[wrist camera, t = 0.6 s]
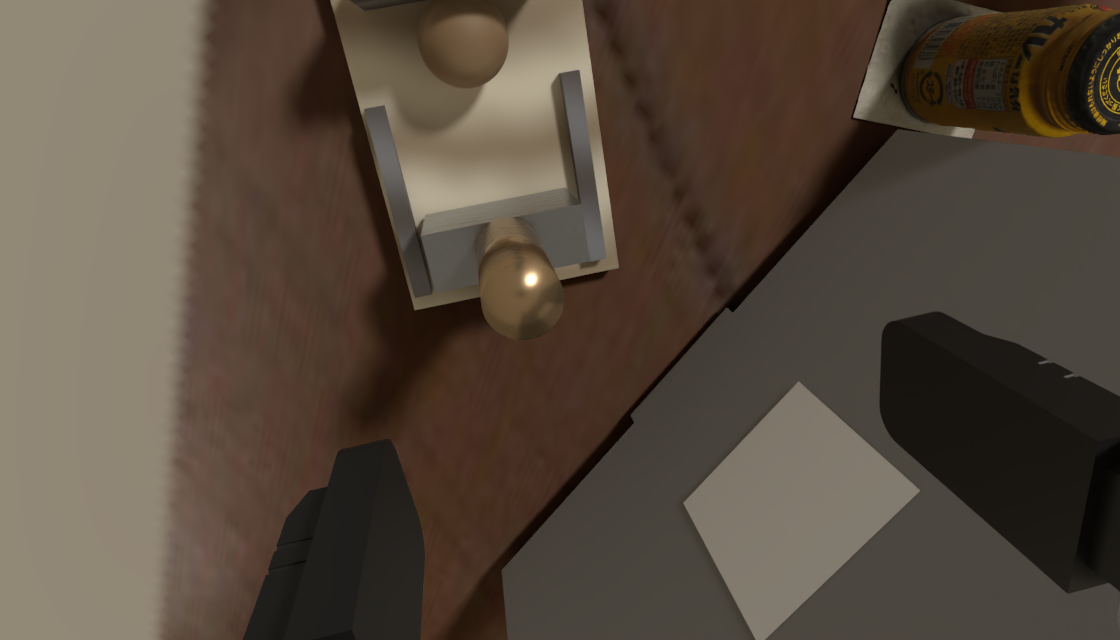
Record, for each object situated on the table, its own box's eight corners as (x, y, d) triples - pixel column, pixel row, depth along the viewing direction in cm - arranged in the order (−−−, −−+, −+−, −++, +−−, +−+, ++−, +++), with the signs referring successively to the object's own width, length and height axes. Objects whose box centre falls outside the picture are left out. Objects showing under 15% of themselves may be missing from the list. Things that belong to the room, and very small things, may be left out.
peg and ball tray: (327, -26, 32) (293, -51, 26) (568, -66, 33) (596, -101, 27) (415, 303, 39) (407, 350, 32) (614, 262, 40) (645, 300, 33)
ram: (424, 213, 36) (409, 283, 24) (564, 185, 36) (618, 240, 24) (438, 267, 37) (430, 360, 25) (573, 239, 37) (629, 317, 25)
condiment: (968, 140, 41) (1159, 165, 30) (851, 117, 39) (1007, 134, 28) (1015, 16, 38) (1241, -7, 27) (892, -15, 37) (1080, -52, 26)
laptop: (762, 692, 57) (1023, 1218, 31) (498, 549, 47) (552, 1144, 21) (1102, 374, 50) (1818, 707, 24) (875, 126, 40) (1677, 225, 14)
